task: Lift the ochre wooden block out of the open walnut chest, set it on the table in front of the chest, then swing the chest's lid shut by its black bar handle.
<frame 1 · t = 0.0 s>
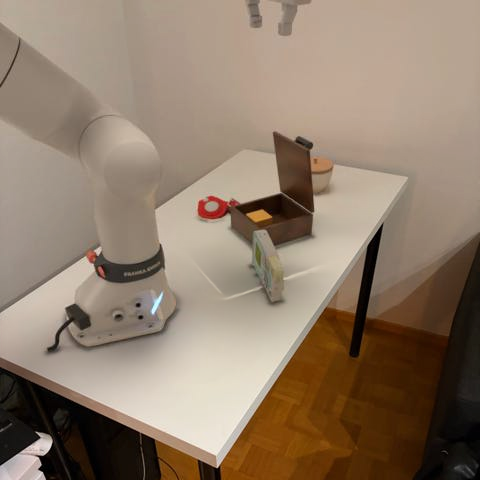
hand: (269, 31, 83), 48 cm above the table, tool pointing down, fingers open, 8 cm apart
chest: (270, 232, 125), on the table
trinket box: (312, 189, 146), on the table
block: (258, 233, 124), point 1 cm above the table, touching chest
lid: (300, 169, 119), point 15 cm above the table, hinge at 80.0°
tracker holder: (218, 215, 134), on the table
handheld gaming console: (266, 284, 108), on the table
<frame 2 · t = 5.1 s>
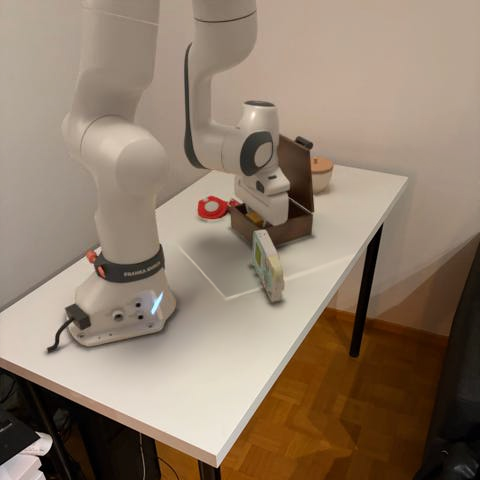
hand: (259, 225, 122), 3 cm above the table, tool pointing down, fingers closed on block, 5 cm apart
block: (258, 233, 124), point 1 cm above the table, touching chest, gripper
everything else where it was.
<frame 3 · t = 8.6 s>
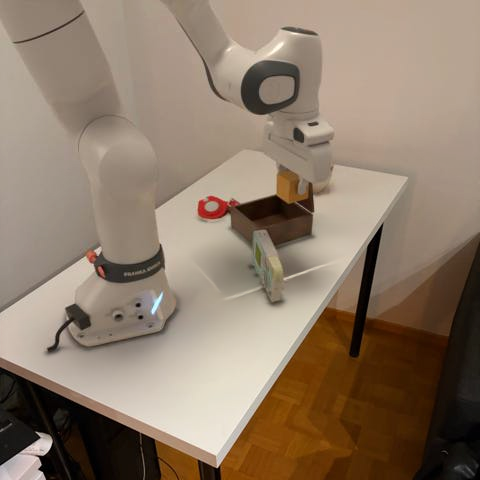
hand: (292, 187, 104), 18 cm above the table, tool pointing down, fingers closed on block, 5 cm apart
block: (291, 196, 105), point 16 cm above the table, touching gripper
everything else where it was.
when the fingers open (2 cm above the table, at t = 12.6 s): block stays where it is, on the table.
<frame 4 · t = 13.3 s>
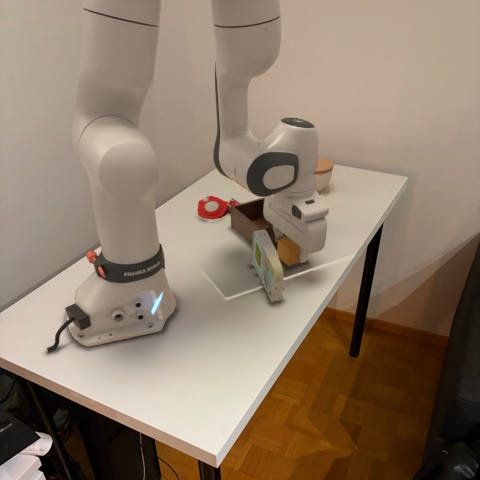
hand: (290, 251, 113), 3 cm above the table, tool pointing down, fingers open, 8 cm apart
block: (291, 260, 115), on the table
everything else where it was.
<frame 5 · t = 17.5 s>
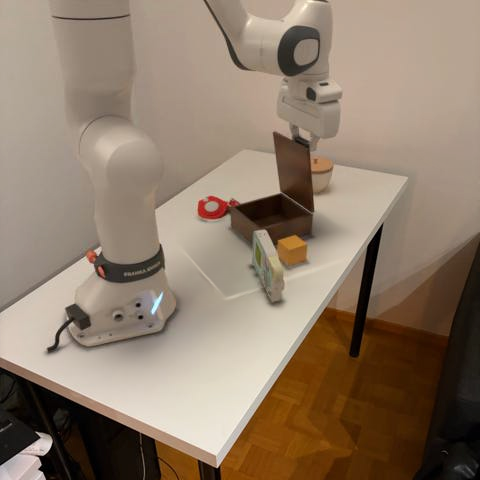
hand: (303, 146, 115), 21 cm above the table, tool pointing down, fingers closed on lid, 5 cm apart
lid: (300, 169, 119), point 15 cm above the table, hinge at 80.0°, touching gripper
everything else where it was.
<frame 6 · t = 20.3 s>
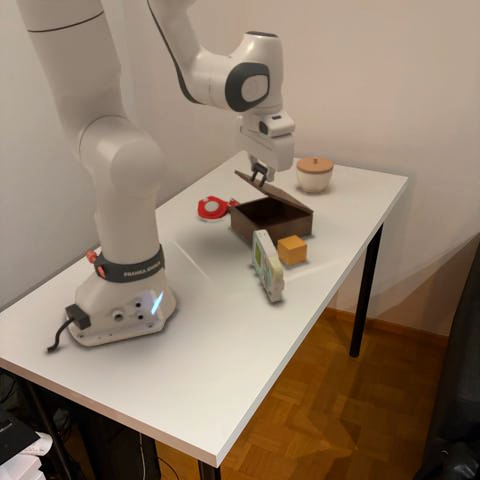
hand: (262, 176, 114), 16 cm above the table, tool pointing down, fingers closed on lid, 5 cm apart
lid: (278, 184, 118), point 13 cm above the table, hinge at 31.4°, touching gripper
everything else where it was.
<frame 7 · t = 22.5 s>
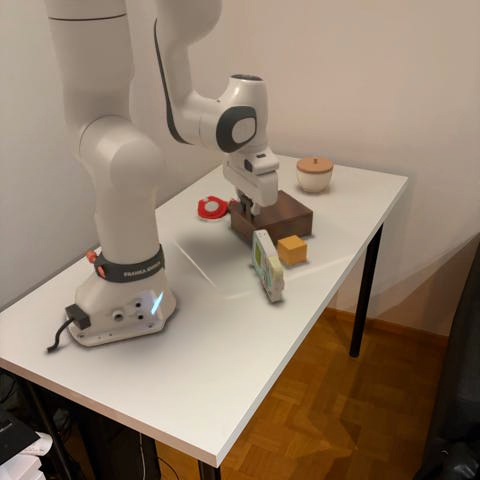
hand: (248, 208, 118), 8 cm above the table, tool pointing down, fingers closed on lid, 5 cm apart
lid: (269, 201, 120), point 9 cm above the table, hinge at -0.2°, touching chest, gripper
everything else where it was.
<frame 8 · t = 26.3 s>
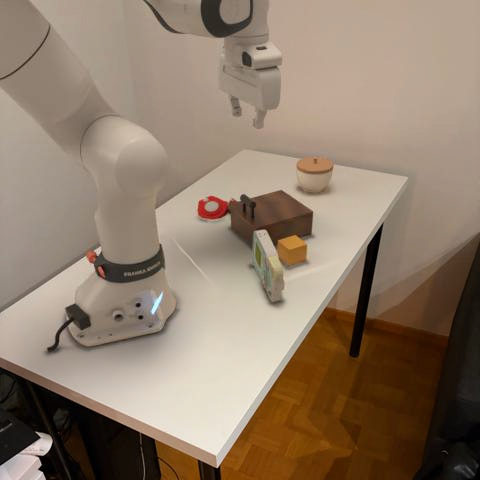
hand: (247, 121, 105), 29 cm above the table, tool pointing down, fingers open, 8 cm apart
lid: (269, 201, 120), point 9 cm above the table, hinge at -0.2°
everything else where it was.
at the end: block inside the target area (0.2 cm from its centre), on the table; block tilted 0°; lid at +0° (first picture: +80°) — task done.
